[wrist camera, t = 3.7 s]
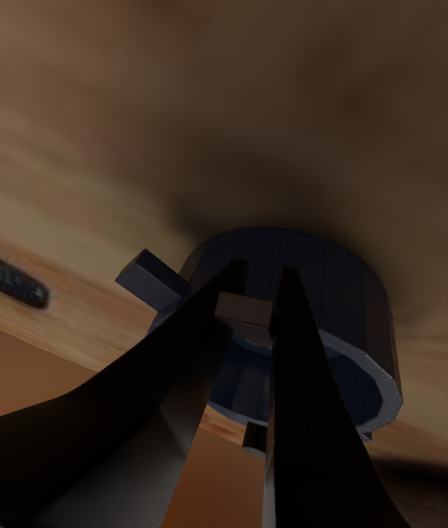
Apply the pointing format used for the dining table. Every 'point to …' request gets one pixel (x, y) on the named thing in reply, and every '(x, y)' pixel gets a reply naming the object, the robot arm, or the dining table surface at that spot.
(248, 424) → the lid
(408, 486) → the cooking pot
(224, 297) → the fork
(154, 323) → the saucepan
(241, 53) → the dining table surface
